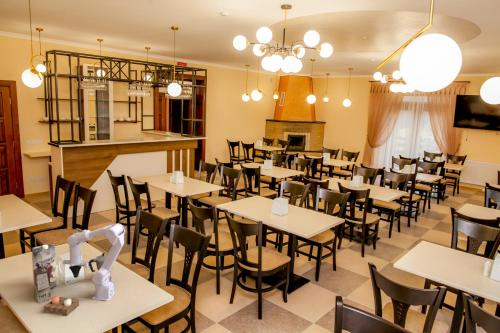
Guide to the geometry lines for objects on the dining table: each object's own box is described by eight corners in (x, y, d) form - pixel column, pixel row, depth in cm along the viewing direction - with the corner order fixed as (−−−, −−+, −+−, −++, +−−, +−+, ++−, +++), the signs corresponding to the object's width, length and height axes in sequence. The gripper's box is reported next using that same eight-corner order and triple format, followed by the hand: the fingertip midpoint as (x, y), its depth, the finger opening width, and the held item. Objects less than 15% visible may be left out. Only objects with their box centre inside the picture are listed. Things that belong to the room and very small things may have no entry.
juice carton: (32, 289, 202) (29, 245, 198) (50, 282, 211) (47, 240, 207) (40, 294, 198) (38, 249, 193) (58, 287, 207) (56, 243, 202)
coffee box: (51, 299, 194) (50, 272, 191) (38, 303, 190) (36, 275, 187) (47, 292, 200) (46, 266, 198) (34, 296, 196) (32, 269, 193)
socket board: (79, 305, 189) (78, 299, 189) (66, 315, 180) (66, 309, 179) (57, 302, 191) (57, 296, 191) (44, 312, 181) (43, 306, 181)
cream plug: (73, 307, 186) (72, 299, 185) (68, 311, 183) (68, 302, 182) (67, 306, 187) (66, 298, 186) (62, 310, 183) (62, 301, 183)
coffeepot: (112, 274, 225) (111, 248, 222) (117, 280, 217) (116, 253, 214) (86, 281, 215) (85, 253, 212) (91, 287, 208) (90, 259, 205)
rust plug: (61, 304, 187) (60, 296, 186) (56, 308, 184) (56, 299, 183) (55, 304, 188) (54, 295, 187) (50, 307, 184) (50, 298, 183)
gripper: (58, 256, 195) (59, 278, 197) (82, 258, 193) (83, 281, 195) (67, 251, 202) (68, 273, 204) (90, 253, 199) (91, 276, 202)
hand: (76, 277), depth 200 cm, fingers closed
